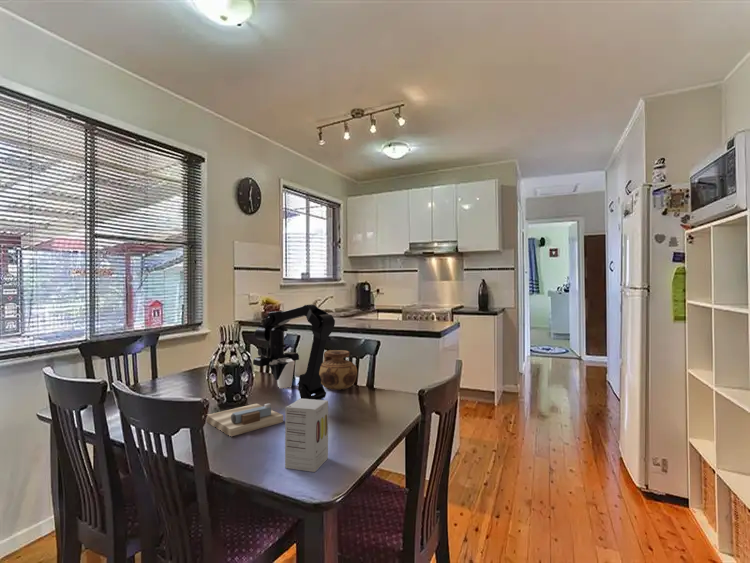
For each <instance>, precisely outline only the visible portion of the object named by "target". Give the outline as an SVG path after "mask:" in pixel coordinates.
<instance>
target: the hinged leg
mask: <svg viewBox="0 0 750 563" xmlns="http://www.w3.org/2000/svg"><path fill="white" fill-rule="evenodd" d="M261 406H262V407H258V408H253V409H249V410H244V411H240V412H235V413H233V414H232V415H231V421H232V423H234V422H235V423H240V422H241V415H243V414H247V413H251V412H255V411H259V412H260V417H265V416H269V415H271V410H272V404H271V403H269V402H268V403H264V404H263V405H261Z"/></svg>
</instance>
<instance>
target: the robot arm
mask: <svg viewBox="0 0 750 563" xmlns="http://www.w3.org/2000/svg"><path fill="white" fill-rule="evenodd" d="M303 317H306V320H307V322H308V323H309V324H310V325H311V331H312V335H313V338H312V339H313V340H312V344H311V349H310V353H309V358H308V362H307V368H306V371H305V373H302V374H300V375H299V377H298V378H299V379H298V383H297V385H298V386H297V387H298V388H297V389H298V393H299V396H300V398H301V399H314V400H323V399H324V398H326V395H327V391H326V390H325V389H324V386H323V385H322V384H321V377H320V375H319V372H320V367H321V364H322V363H323V362H322V361H323V359H324V358H323V357H324V353H325V348H326V345H327V339H328V338H329V337H330V335H331V334H332V332H333V330H334V329H335V328H334V327H335V324H336V319H335V318H334V316H333V315H331V314H329V312H327V311H325V310H323V309H321V308H319V307H318V306H316V305H315V304H313V303H312V304H304V305H302V306H300V307H295V308H291V309H288V310H281V311H269V312H268V314H267V316H266V318H265V320H264V322H263V323H259V324H258V327H257V328H256V329H255V332H254V336H255V339H256V340H259V341H267V342H269V344H267V348H265V347H259V348H257V355H258V357H254V359H253V360H252V364H253V365H254V366H256V367H257V366H258V367H266V366H269V368H270V369H271V372H272V374H273V377H274V380H275V381H277V380H279V377H280V375H281V373H282V371H283V369H284V367H285V366H286V364H288V362H286V359H292V360H293V361H295V362H296V361H299V360H300V355H299V353H298V352H294V351H293V352H292V351H289V352H285V348H287V347H286V346H287V345H286V343H285V332H287V331H289V330H288V327H286V326H285V324H287V323H289V322H290V321H291V320H294V319H299V318H303Z"/></svg>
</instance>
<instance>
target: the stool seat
mask: <svg viewBox="0 0 750 563" xmlns="http://www.w3.org/2000/svg"><path fill="white" fill-rule="evenodd" d="M262 406H263V405H261V404H259V403H257V402H256V403H252V404H248V405H245V406H239V407H234V408H232V409H231V408H230V409H226V410H222V411H218V412H214V413H209V414H207V415H208V416H207V422H208V423H207V422H206V423H207V424H209V425H211V426H212V427H214V428H215V427H216V428H215V429H217V430H219V431H220V430H221V431H220V432H222V433H223V432H224V433H223V434H225V435H227V436H228V435H229V437H230V436H231V437H233V436H239V435H241V434H246V433H249V432H252V431H256V430H259V429H262V428H266V427H270V426H273V425H277V424H280V423H281V424H282V423H284V414H282V413H279V412H277V411H274V410H273V409H271V415H269V416H265V417H260V421H257V422H253V423H250V424H246V425H243V424H241V422H240V423H235V422H234V423H232V421H231V415H232V414H233V413H235V412H240V411H244V410H249V409H253V408H258V407H262Z"/></svg>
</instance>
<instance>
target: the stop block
mask: <svg viewBox="0 0 750 563" xmlns="http://www.w3.org/2000/svg"><path fill="white" fill-rule="evenodd" d="M257 421H260V412H259V411H255V412H251V413H247V414H243V415H241V424H243V425H246V424H250V423H253V422H257Z"/></svg>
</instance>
